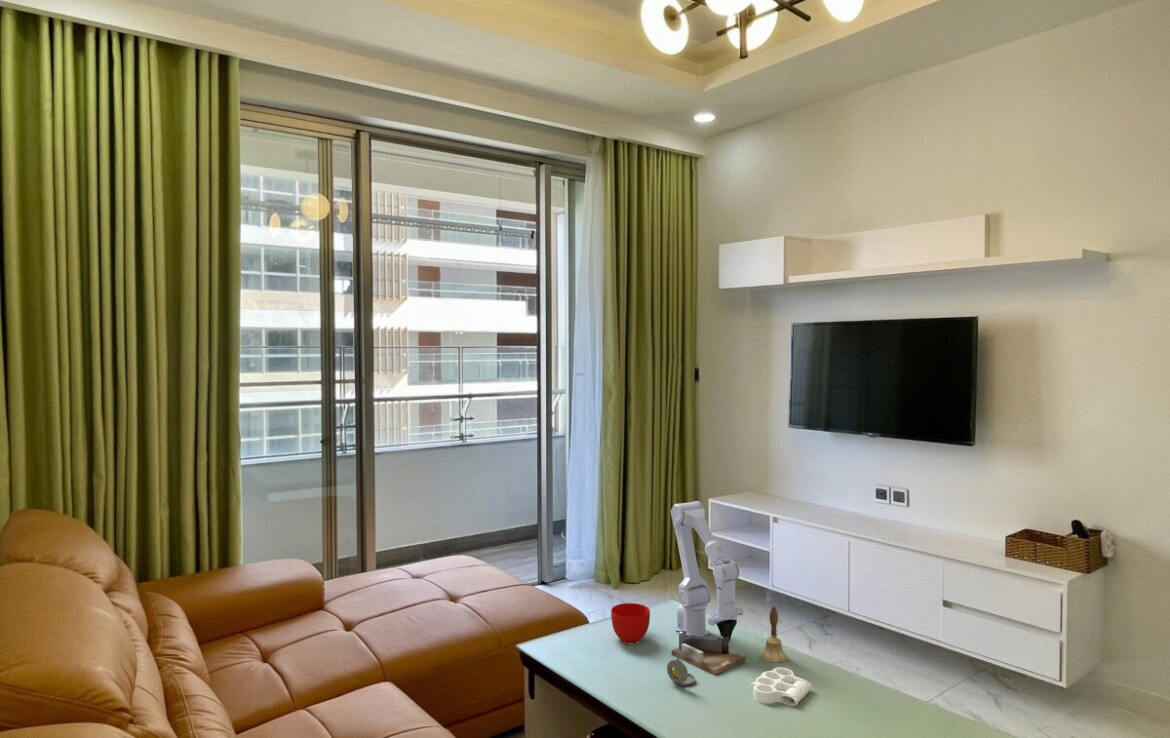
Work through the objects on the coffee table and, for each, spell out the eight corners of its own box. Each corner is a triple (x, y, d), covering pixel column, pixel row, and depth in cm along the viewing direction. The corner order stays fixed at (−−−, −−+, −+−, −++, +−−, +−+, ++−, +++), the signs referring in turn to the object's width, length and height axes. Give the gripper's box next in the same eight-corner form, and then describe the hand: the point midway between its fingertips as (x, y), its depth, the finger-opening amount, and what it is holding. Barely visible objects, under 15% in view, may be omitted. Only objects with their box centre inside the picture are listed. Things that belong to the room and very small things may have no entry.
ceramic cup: (662, 633, 241) (661, 604, 241) (638, 651, 227) (638, 620, 226) (628, 625, 248) (628, 596, 247) (603, 642, 234) (603, 612, 233)
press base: (671, 654, 224) (671, 640, 224) (702, 642, 233) (702, 629, 233) (714, 675, 210) (714, 660, 210) (745, 662, 219) (745, 647, 219)
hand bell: (790, 662, 218) (790, 611, 218) (763, 662, 218) (763, 611, 218) (783, 650, 227) (783, 601, 226) (757, 650, 227) (757, 601, 226)
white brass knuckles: (791, 714, 189) (740, 697, 198) (816, 688, 203) (768, 673, 212) (791, 701, 189) (741, 685, 198) (816, 676, 203) (768, 662, 212)
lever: (678, 649, 224) (678, 633, 223) (679, 646, 226) (679, 630, 226) (728, 654, 220) (728, 637, 220) (728, 650, 223) (728, 634, 223)
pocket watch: (694, 676, 210) (694, 643, 209) (696, 690, 201) (696, 655, 201) (666, 675, 210) (666, 642, 210) (667, 689, 202) (667, 654, 202)
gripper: (720, 609, 218) (720, 652, 219) (750, 598, 227) (750, 640, 228) (703, 602, 224) (703, 644, 225) (733, 592, 233) (733, 633, 233)
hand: (725, 641), depth 227 cm, fingers closed
